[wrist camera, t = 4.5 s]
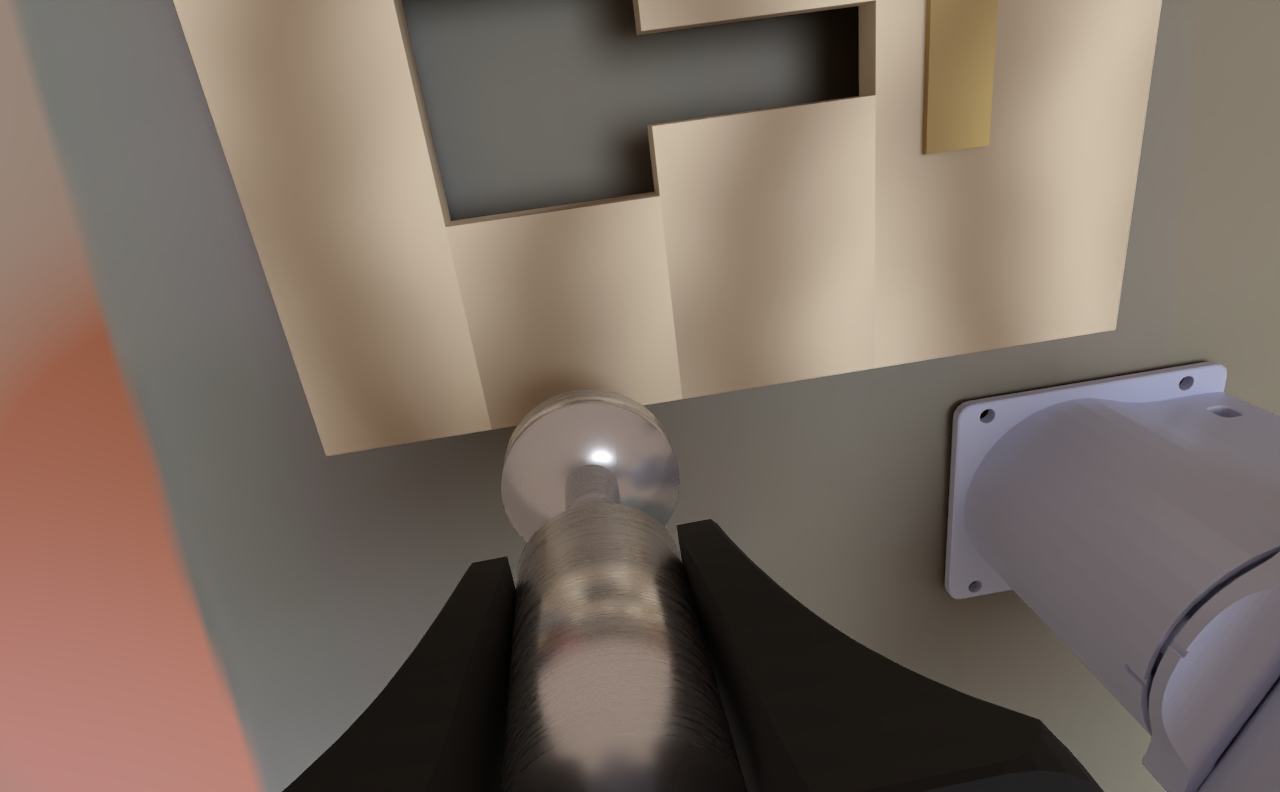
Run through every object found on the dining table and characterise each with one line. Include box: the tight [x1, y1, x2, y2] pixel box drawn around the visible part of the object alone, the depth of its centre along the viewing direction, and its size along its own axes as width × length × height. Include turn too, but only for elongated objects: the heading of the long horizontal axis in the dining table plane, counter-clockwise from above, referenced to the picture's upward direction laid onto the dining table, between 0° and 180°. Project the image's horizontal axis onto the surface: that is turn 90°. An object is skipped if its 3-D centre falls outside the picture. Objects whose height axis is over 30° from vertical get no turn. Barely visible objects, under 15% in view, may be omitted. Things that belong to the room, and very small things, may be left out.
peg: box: [501, 389, 747, 792], centre depth 13 cm, size 4×4×9 cm
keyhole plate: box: [173, 0, 1162, 456], centre depth 18 cm, size 22×16×3 cm
